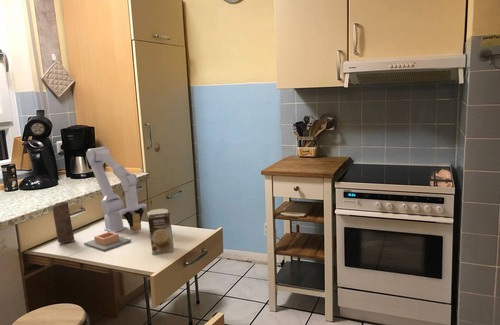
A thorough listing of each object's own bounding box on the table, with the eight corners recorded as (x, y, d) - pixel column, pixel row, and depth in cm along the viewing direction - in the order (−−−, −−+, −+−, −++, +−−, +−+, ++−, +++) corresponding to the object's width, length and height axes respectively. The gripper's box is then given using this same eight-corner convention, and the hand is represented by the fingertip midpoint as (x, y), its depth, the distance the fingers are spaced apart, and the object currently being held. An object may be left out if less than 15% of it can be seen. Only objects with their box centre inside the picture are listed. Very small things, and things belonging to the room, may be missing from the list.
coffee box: (151, 255, 174) (147, 218, 172) (153, 250, 180) (148, 214, 178) (173, 252, 175) (169, 216, 173) (174, 247, 181) (170, 212, 179)
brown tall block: (68, 245, 198) (61, 204, 195) (54, 245, 199) (47, 205, 196) (77, 239, 205) (71, 200, 202) (64, 239, 207) (58, 201, 204)
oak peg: (130, 230, 208) (127, 215, 206) (136, 227, 211) (134, 212, 209) (134, 231, 205) (132, 215, 204) (141, 229, 208) (139, 213, 207)
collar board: (84, 245, 196) (83, 236, 195) (110, 235, 206) (109, 228, 206) (104, 251, 184) (103, 243, 183) (131, 241, 194) (130, 233, 194)
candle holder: (173, 231, 204) (170, 208, 202) (167, 238, 194) (164, 213, 193) (154, 232, 205) (151, 209, 203) (147, 239, 195) (144, 215, 194)
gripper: (123, 203, 197) (127, 230, 199) (148, 196, 208) (151, 221, 210) (115, 201, 202) (119, 228, 204) (140, 194, 213) (143, 220, 215)
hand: (135, 225), depth 207 cm, fingers closed on oak peg, 4 cm apart
